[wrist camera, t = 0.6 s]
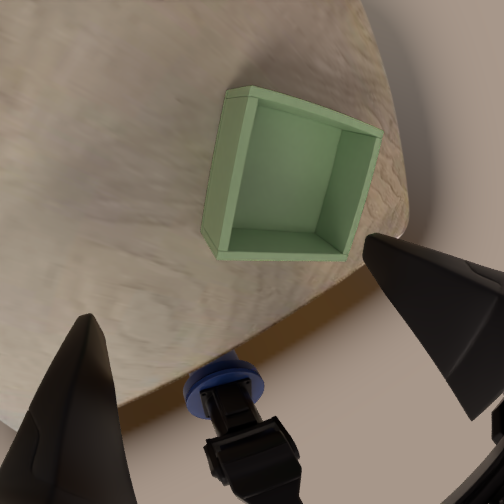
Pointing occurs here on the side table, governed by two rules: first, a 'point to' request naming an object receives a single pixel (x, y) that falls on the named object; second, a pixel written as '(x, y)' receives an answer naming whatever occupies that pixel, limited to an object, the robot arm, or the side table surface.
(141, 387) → the side table surface
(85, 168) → the side table surface
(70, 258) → the side table surface
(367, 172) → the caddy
